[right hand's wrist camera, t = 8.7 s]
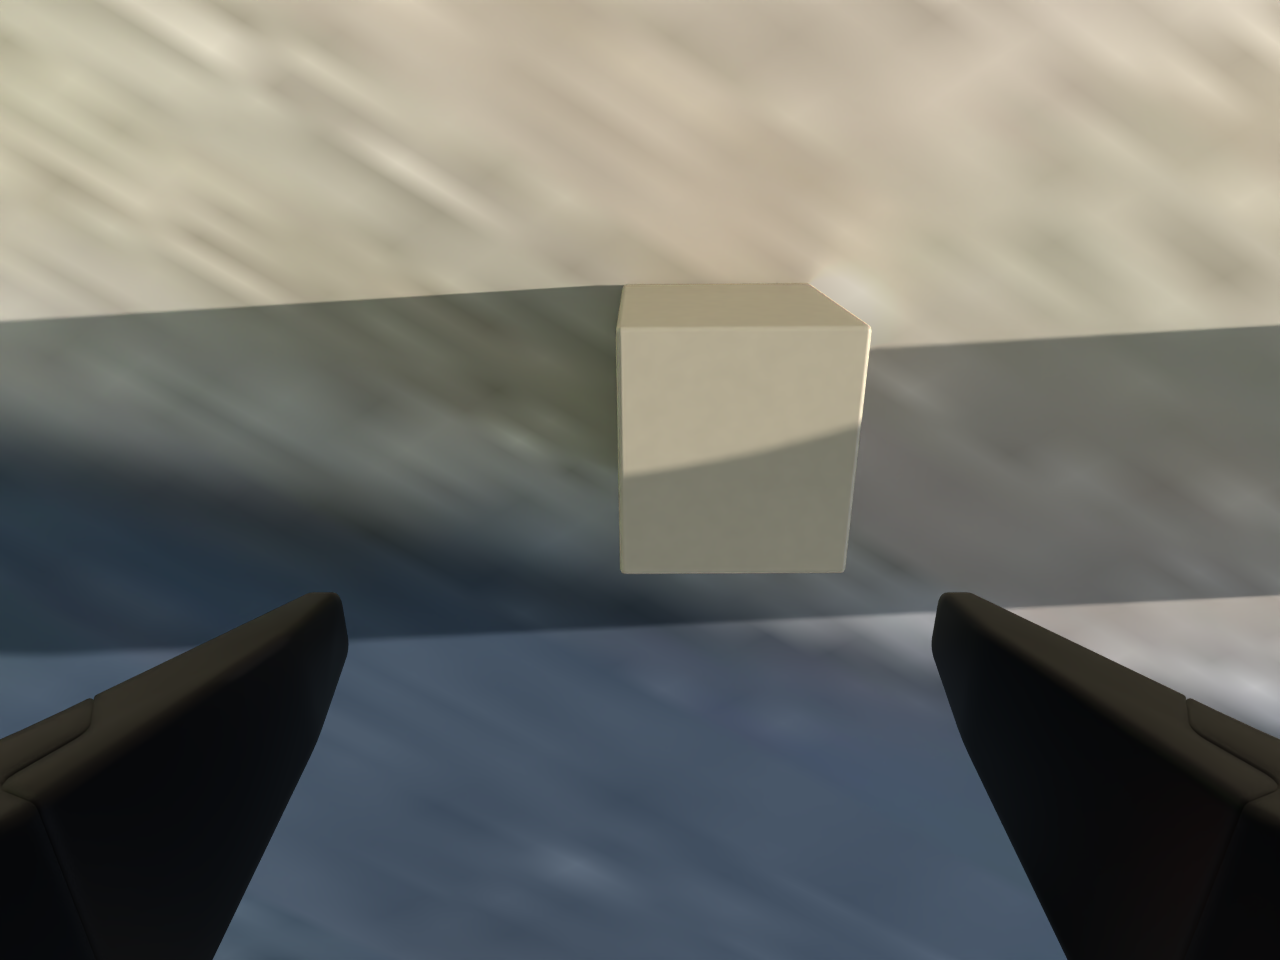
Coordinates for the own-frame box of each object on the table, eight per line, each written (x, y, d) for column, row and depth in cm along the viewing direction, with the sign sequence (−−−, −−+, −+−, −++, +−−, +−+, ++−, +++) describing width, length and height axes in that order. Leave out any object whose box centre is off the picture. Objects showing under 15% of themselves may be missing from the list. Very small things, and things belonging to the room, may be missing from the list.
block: (811, 282, 17) (873, 325, 12) (795, 475, 19) (846, 575, 14) (622, 283, 17) (615, 326, 12) (624, 475, 19) (620, 576, 14)
